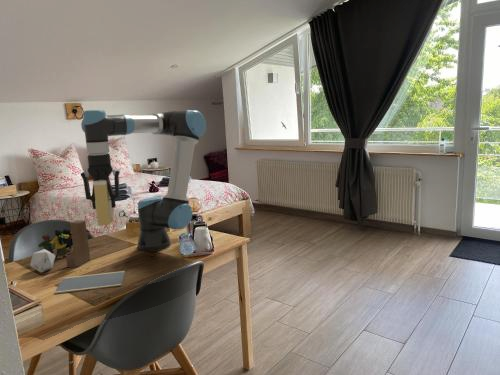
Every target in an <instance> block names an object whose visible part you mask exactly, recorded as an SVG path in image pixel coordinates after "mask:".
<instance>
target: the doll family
mask: <svg viewBox="0 0 500 375" xmlns="http://www.w3.org/2000/svg"><path fill="white" fill-rule="evenodd" d="M86 229H87V228H86ZM90 233H91V230H90V229H87V234H90ZM41 238H42V239H43V241H42V242H40V243H39V244H38V245H37V246H38V248H43V249H45V250H47V251H49V252H51V253H52V254H54V250H56V256H57V259H63V258H64V257H67V256H68V254H67V253H68V251H69V252H72V250H73V241H72V234H71V229H68V228H66V229H65V228H64V229H63V230H60V229H55V231H54V238H51V235H50V234H43V235H42V236H41ZM54 244H55V246H54V248H53V246H52V245H54ZM53 249H54V250H53Z"/></svg>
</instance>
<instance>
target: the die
mask: <svg viewBox="0 0 500 375" xmlns="http://www.w3.org/2000/svg"><path fill="white" fill-rule="evenodd" d="M56 256H57V254H54V253H53V254H52V253H51V252H49V251H47V250H45V249H44V248H43V249H41V250H38V251H34V252H33V253H32V257H31V260H30V264H29V267H31V268H33V269H34V270H36V271H38V272H39V273H41V274H42V273H44V272H46V271H49V270H51V269H52V268H53V267H54V262H55V259H56Z"/></svg>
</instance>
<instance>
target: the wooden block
mask: <svg viewBox="0 0 500 375" xmlns="http://www.w3.org/2000/svg"><path fill="white" fill-rule="evenodd" d="M69 225H70V226H69V227H70V232H71V234H72V241H73V246H72V249H73V250H72V251H70V254H67V256H65V257H66V258H65V259H66V260H65V261H66V266H67V267H68V268H69V267H70V268H77V267H79V266H81V265H83V264H85V263H87V262H89V261H91V255H90V246H89V238H88V232H87V223H86V220H83V219H82V220H81V219H77V220H74V221H71V222H70V223H69Z"/></svg>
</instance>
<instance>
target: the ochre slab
mask: <svg viewBox="0 0 500 375" xmlns="http://www.w3.org/2000/svg"><path fill="white" fill-rule="evenodd" d="M93 185H94V192H95V201H96V209H95V211H96V210H97V214H96V219H97V226H98V227H101V226H110V225H111V224H112V222H113V220H114V216H113V217H110V208H109V199H111V198H110V195H109V192H108V189H107V180H102V179H100V180H97V181H94V182H93V183H92V186H93Z"/></svg>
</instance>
